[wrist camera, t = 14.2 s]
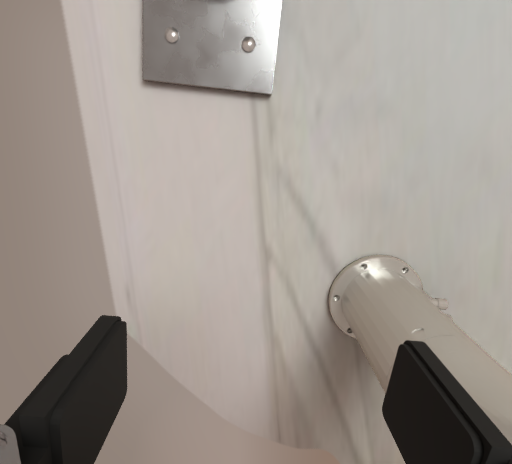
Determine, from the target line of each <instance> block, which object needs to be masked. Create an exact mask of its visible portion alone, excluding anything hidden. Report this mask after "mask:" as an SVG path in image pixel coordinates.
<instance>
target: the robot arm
mask: <svg viewBox="0 0 512 464" xmlns="http://www.w3.org/2000/svg"><path fill="white" fill-rule="evenodd" d="M362 264H363V265H362ZM361 265H362V266H361ZM335 295H336V296H335ZM447 308H448V301H447V300H446V299H440V298H435V299H434V298H431V297H430V296H429V295H428V294H426V293H425V292H424V291H423V285H422V282H421V279H420V278H419V276H418V274H417V273H416V272H415V271H414V269H413V268H412V267H411V266H409V265H408V264H407V263H405V262H404V261H402V260H400V259H398V258H395V257H392V256H387V255H373V256H368V257H364V258H361V259H359V260H357V261H354V262H353V263H351V264H350V265H348V266H347V267H345V268H344V269H343V270H342V271H341V272H340V273H339V275H338V276H337V277H336V279H335V280H334V282H333V284H332V287H331V289H330V293H329V309H330V313H331V315H332V318H333V320H334V321H335V323H336V325H337V326H338V327H339V328H340V329H341V331H343V332H344V333H345V334H347V335H348V336H350V337H353V338H355V339H357V341H358V343H359V345H360V346H361V348H362V350H363V352H364V354H365V356H366V358H367V360H368V362H369V364H370V365H371V367H372V369H373V371H374V373H375V375H376V377H377V379H378V381H379V382H380V384H381V386H382V388H383V390H384V392H385V394H386V395H385V398H384V402H383V406H382V412H383V416H384V419H385V421H386V423H387V425H388V427H389V429H390V432H391V434H392V436H393V438H394V440H395V442H396V444H397V446H398V448H399V450H400V453H401V455H402V457H403V459H404V461H405V463H406V464H512V374H511V373H509V372H508V371H507V370H506V369H505V368H504V367H502V366H501V365H500V364H499V363H498V362H497V361H495V360H494V359H493V358H492V357H491V356H490V355H489V354H488V353H487V352H486V351H484V350H483V349H482V348H481V347H480V346H479V345H478V344H477V343H476V342H475V341H473V340H472V339H471V338H470V337H469V336H468V335H467V334H466V333H465V332H464V331H462V330H461V329H460V328H459V327H458V326H457V325H456V324H455V323H454V322H453V318H452V317H451V316H450V315H448V314H444V313H443V312H442V311H441V310H440V309H442V310H446V309H447ZM126 392H127V328H126V322H124V321H121V318H120V317H118V316H106V315H102V316H101V317H100V318H99V319H98V320H97V321H96V322H95V324H94V325H93V326H92V327H91V329H90V330H89V331H88V332H87V333H86V335H85V336H84V337H83V338H82V339H81V341H80V342H79V343H78V344H77V345H76V347H75V348H74V349H73V350H72V352H71V353H70V354H69V355H64V356H63V357H62V358H60V359H59V361H58V362H57V363H56V364H55V365H54V366H53V368H52V369H51V370H50V372H48V374H47V375H46V376H45V377H44V378H43V379H42V381H41V382H40V383H39V384H38V385H37V386H36V388H35V389H34V390H33V391H32V392H31V394H30V395H29V396H28V397H27V398H26V399H25V401H24V402H23V403H22V404H21V405H20V407H19V408H18V409H17V410H16V411H15V412H14V414H13V415H12V416H11V417H10V418H9V420H8V421H7V422H6V423H5V424H4V425H1V424H0V464H94V462H95V460H96V458H97V456H98V454H99V452H100V450H101V447H102V445H103V443H104V441H105V439H106V437H107V435H108V433H109V431H110V428H111V426H112V424H113V422H114V420H115V418H116V416H117V414H118V412H119V409H120V407H121V405H122V403H123V401H124V399H125V396H126Z"/></svg>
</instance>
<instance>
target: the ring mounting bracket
mask: <svg viewBox="0 0 512 464" xmlns="http://www.w3.org/2000/svg"><path fill="white" fill-rule="evenodd" d="M281 6H282V0H143V79H144V80H145V81H151V82H160V83H169V84H177V85H186V86H195V87H204V88H212V89H221V90H230V91H238V92H247V93H256V94H265V95H272V89H273V80H274V70H275V61H276V52H277V43H278V34H279V25H280V15H281Z"/></svg>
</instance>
